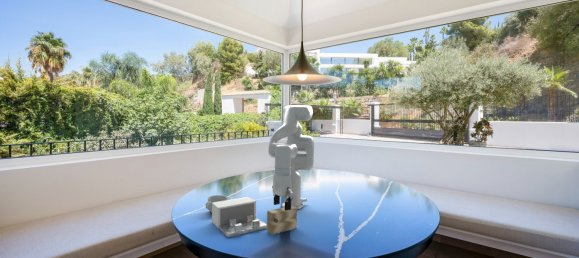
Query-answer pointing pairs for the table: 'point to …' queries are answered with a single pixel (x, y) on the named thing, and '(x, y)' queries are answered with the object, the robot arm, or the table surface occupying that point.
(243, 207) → the cabinet
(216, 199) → the teacup
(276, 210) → the door
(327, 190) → the table surface
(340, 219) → the table surface
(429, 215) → the table surface
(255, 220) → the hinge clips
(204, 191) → the table surface
